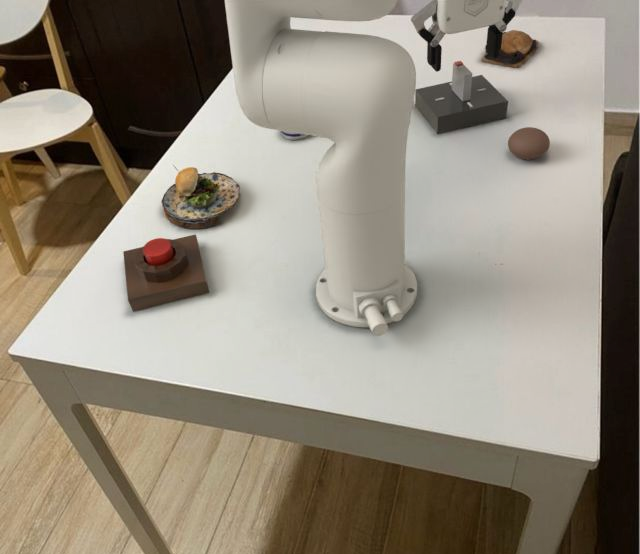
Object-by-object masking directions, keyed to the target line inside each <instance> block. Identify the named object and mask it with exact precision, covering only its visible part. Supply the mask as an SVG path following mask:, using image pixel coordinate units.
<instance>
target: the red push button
mask: <svg viewBox="0 0 640 554" xmlns="http://www.w3.org/2000/svg"><path fill="white" fill-rule="evenodd" d="M167 239H168V238H163V237H158V238H153V239H151V240H149V241H147V242H146V243H145V244H144V245H143V246H144V247H143V246H142V247H143V253H144V255H145V258H146V261H147V263H148V264H149V265H152V266H159V265H163V264H166V263H168V262H169V261H171V260H172V259H173V258H174V252H173V249H172V246H171V243H170V241H169V240H167Z"/></svg>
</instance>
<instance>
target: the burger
mask: <svg viewBox="0 0 640 554" xmlns="http://www.w3.org/2000/svg"><path fill="white" fill-rule="evenodd" d="M172 166H173V167H174V169H175V170H176V171H177V172H178V173H177V174H176V177H175V180H174V181H175V182H174V183H173V184H172V185H170V187H168V189H167V190H166V191H165V193H163V197H162V198H161V205H162V208H163V214H164V216H165V218H166V219H167V220H168V221H169V222H170V223H172V224H173V225H175V226H179V227H181V228H186V229H203V228H206V227H209V226H210V227H213V226H215V225H217V224H218V221H219V218H220V216H222V215H223V214H226V213H227V212H229V211H230V210H231V209H232V208H233V206H234V205H235V204H236V203H237V202H238V200H239V198H240V195H241V186H240V184H239V183H238V182H237V181H236V180H234V178H232V177H231V176H229V175H227V174H225V173H221V172H216V171H213V172H210V173H207V172H202V173H199V171H198V168H197V167H193V166H191V167H185V168H183V169H181V170H178V168H176V166H174V164H172Z"/></svg>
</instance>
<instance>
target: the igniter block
mask: <svg viewBox="0 0 640 554" xmlns="http://www.w3.org/2000/svg"><path fill="white" fill-rule="evenodd" d="M166 239H167V240H169V241H170V243H171V246H172V249H173V252H174V258H173V259H172V260H171V261H169V262H168V263H166V264H163V265H159V266H152V265H149V264H148V263H147V261H146V258H145V255H144V253H143V247H144V245H143V246H141V247H136V248H132V249H128V250H124V251H122V253H123V262H124V263H123V264H124V273H125V285H126V286H125V287H126V296H127V301H128V303H129V307H130V308H131V311H132V313H134V312H138V311H142V310H146V309H150V308H155V307H158V306H162V305H166V304H170V303H176V302H178V301H183V300H186V299H190V298H195V297H198V296H202V295H206V294H210V287H209V284H208V283H209V282H208V280H207V279H208V277H207V275H206V269H205V266H204V262H203V256H202V252H201V248H200V244H199V241H198V240H199V239H198V237H197V234H191V235H186V236H182V237H177V238H174V239H171V238H166Z"/></svg>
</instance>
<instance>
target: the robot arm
mask: <svg viewBox="0 0 640 554" xmlns="http://www.w3.org/2000/svg"><path fill="white" fill-rule="evenodd" d="M506 1H507V2H508V3H507V2H506ZM398 2H399V0H224V7H225V14H226V24H227V31H228V39H229V48H230V56H231V65H232V73H233V80H234V87H235V92H236V96H237V101H238V103H239V107H240V110H241V111H242V113H243V115H244V116H245V117H246V118H247V120H249V121H250V123H252V124H254V125H256V126H258V127H260V128H264V129H269V130H273V131H279V132H281V131H285V132H292V133H299V134H306V135H309V136H314V137H317V138H323V139H328V140H331V141H332V142H334V143H333V144H332V145H331V146H330V147H329V148H328V149H327V150H326V152H325V153H324V154H323V156H322V157H321V160H320V161H319V163H318V165H317V170H316V172H315V173H316V176H315V186H316V187H315V188H316V194H317V202H318V213H319V220H320V229H321V238H322V247H323V256H324V265H325V266H324V267H325V269H323V271H321V273H320V274H319V276H318V278H317V280H316V283H315V284H316V285H315V297H316V301H317V304H318V306H319V308H320V310H321V311H322V312H323V313H324V314H325V315H326V316H327V317H329V318H330V319H332V321H333V320H334V321H335V322H337V323H339V324H341V325H346V326H349V327H353V328H354V327H355V328H369V329H370V331H371V333H372V334H373V336H377V337H378V336H379V337H380V336H383V335H385V334H386V333H387V332H388V330H389V326H388V324H390V323H393V322H399V321H401V320H403V318H404V316H405V315H406V314H407V313H408V312H409V311H410V310H411V309H412V307H413V305H414V304H415V302H416V300H417V296H418V280H417V277H416V275H415V273H414V272H413V270H412V269H411V268H410V267H409V265H407V264H406V262H405V261H406V260H405V259H406V257H405V256H406V254H405V253H406V248H405V247H406V161H407V145H408V137H409V128H410V123H411V116H412V110H413V105H414V102H415V90H416V86H417V71H416V65H415V63H414V60H413V58H412V56H411V54H410V53H409V52H408V51H407V49H405V48H404V47H403V45H400V44H399V43H397V42H395V41H393V40H391V39H388V38H384V37H380V36H377V35H371V34H364V33H350V32H339V31H328V30H327V31H326V30H325V31H322V30H321V31H319V30H309V29H308V30H307V29H296V28H295V29H294V28H292V27H291V18H293V19H294V18H295V19H296V18H297V19H309V20H323V21H335V22H370V21H371V22H372V21H374V20H379V19H382V18H384V17H387V15H389V14H390V13H391V12H392V11H393V10H394V9H395V7H396V5H397V4H398ZM522 2H523V0H432V1H430V2H428V4H426V5H425V6H424V7H422V8H420V9H419V10H418V11H417V12H416V13H414V14H413V15H412V16H411V18H410V21H411V23H412V25H413V27H414V29H415V31H416V33H417V34H418V36H420V37H421V38H422V39H423V40H424V41H425V42H426V44H427V49H426V51H427V52H426V62H427V64H428V65H429V66H430V67H431V68H432V69H433V70H434V71H435V72H436V73H437V72H440V71H441V70H442V52H443V51H442V50H443V48H442V45H441V44H440V43H441V42H442V40H443V38H444V37H445V35H453V34H459V33H464V32H469V31H473V30H478V29H482V28H487V35H486V42H485V43H486V44H485V46H486V49H485V52H486V51H487V52H488V53H489V54H490V55H491V56H492V57H493V58H498V57H499V49H501V43H502V34H503V32H506V30H507V28H508V25H509V24H510V22H511V21H513V19H514V18H515V16H516V12H517V11H518V9H519V7H520V5H521V3H522ZM506 3H507V6H506ZM430 18H431V21H432V24H431V26H430V27H429V28H428V29H427V28H426V26H425V22H426V21H427V20H428V19H430Z"/></svg>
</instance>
